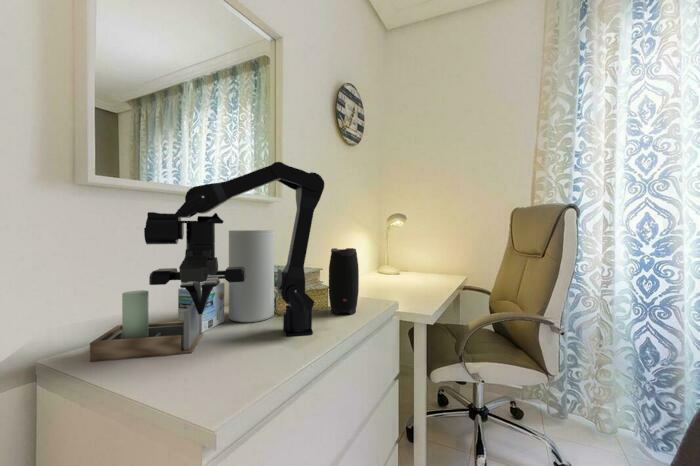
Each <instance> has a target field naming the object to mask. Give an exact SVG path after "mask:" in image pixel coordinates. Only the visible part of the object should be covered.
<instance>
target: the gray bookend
mask: <svg viewBox="0 0 700 466" xmlns="http://www.w3.org/2000/svg"><path fill="white" fill-rule="evenodd" d="M199 334H200V333H199V314H198V312H197V309H196V307H195V304H194V302H193V303H192V304H191V305H190V306H189V307H188V308H187V309H186V310H185V311H184V325H174V326H159V327H149V337H159V336H173V335H181V349H184V350H189V349H190V347H191V346H192V344H193V343H194V341H195V340H196V338H197V337H198V335H199ZM116 339H123V338H122V330H120V331H119V332H117V333H116V334H114V335H113V336H111V337H110V338H109V339H107V340H116Z"/></svg>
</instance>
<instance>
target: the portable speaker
mask: <svg viewBox="0 0 700 466" xmlns="http://www.w3.org/2000/svg"><path fill="white" fill-rule="evenodd" d="M357 253H358V252H357V249H356V248H353V247H352V248H351V247H350V248H349V247H348V248H342V249H338V247H337V248H334V247H333V248H331V250H330V260H329V265H328V297H329V298H328V299H329V305H330V314H333V315H335V316H336V315H337V316H338V315H339V314H340V313H347V314H348V315H353V314H352V313H355V314H356V312H357V307H358V299H359V289H360V288H359V285H360V284H359V282H360V281H359V280H360V279H359V278H360V276H359V272H360V271H359V259H358V254H357Z"/></svg>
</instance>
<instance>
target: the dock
mask: <svg viewBox="0 0 700 466" xmlns="http://www.w3.org/2000/svg"><path fill="white" fill-rule="evenodd" d="M174 325H184V321H180V322H178V321H164V322H149V327H159V326H174ZM120 330H122V324H118V325H116V326H114V327H112V328H111V329H109V330H108V331H106V332H105V333H103V334H102V335H100V336H99V337H97V338H95V339H94V340H93V341H91V342H89V361H90V362H91V363H92V362H102V361H113V360H124V359H125V360H126V359H138V358H149V357H160V356H162V357H163V356H172V355H174V356H175V355H184V354H193V352H194V350H195V349H196V347H197V345H198V344H199V343H200V341H201V339H202V337H203V335H204V332H203V333H199V335H198V337H197V338H196V340H195V341H194V343H193V344H192V346H191V347H190V349H189V350H184V349H181V335H173V336H159V337H144V338H130V339H116V340H107V339H109V338H110V337H111V336H113V335H114V334H116V333H117V332H119V331H120Z"/></svg>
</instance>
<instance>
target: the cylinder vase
mask: <svg viewBox="0 0 700 466" xmlns="http://www.w3.org/2000/svg"><path fill="white" fill-rule="evenodd" d="M228 267H244V268H245V269H246V278H245V280H244V282H228V318H229V320H231V321H233V322H237V323H257V322H263V321H265V320H266V321H267V320H269V319H270V318H273V316H274V314H275V230H247V229H246V230H243V229H241V230H240V229H239V230H237V229H236V230H231V229H229V230H228Z"/></svg>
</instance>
